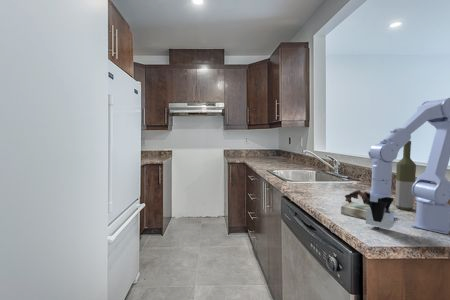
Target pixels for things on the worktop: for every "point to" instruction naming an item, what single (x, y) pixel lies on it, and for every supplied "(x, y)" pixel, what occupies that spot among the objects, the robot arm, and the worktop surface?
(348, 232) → the worktop surface
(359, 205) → the stand
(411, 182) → the bottle
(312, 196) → the worktop surface
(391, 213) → the block
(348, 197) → the broken clay pot shard
